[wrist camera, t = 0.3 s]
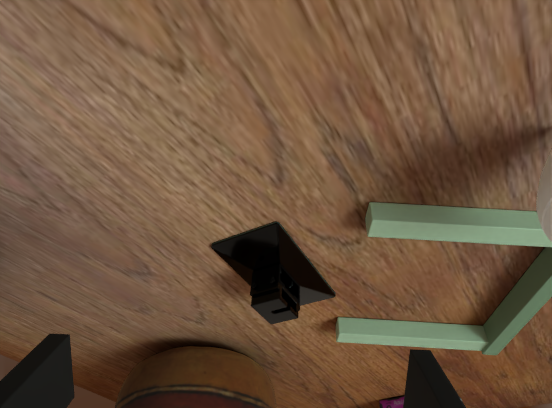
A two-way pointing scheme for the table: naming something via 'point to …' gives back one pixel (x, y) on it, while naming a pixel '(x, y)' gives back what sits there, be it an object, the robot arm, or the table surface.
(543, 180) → the spinning top
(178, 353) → the ceramic pitcher
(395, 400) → the candy bar box
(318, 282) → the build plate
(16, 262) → the table surface
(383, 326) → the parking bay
